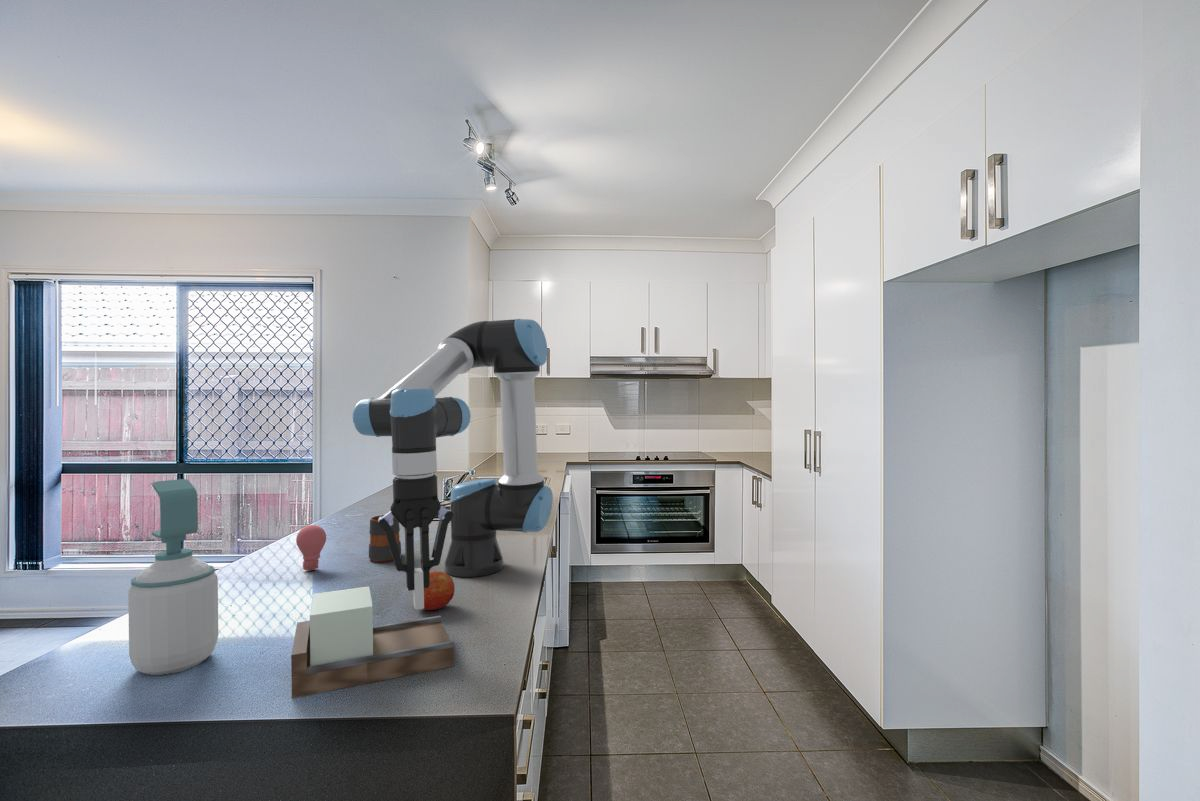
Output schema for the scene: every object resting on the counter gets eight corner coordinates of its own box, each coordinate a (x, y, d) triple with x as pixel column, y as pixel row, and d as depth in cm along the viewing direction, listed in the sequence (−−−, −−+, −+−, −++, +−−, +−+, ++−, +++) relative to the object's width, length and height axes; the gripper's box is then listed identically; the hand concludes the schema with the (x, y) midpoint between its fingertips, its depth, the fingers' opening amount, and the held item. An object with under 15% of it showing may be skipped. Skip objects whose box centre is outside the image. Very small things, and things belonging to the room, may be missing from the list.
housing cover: (369, 632, 102) (369, 586, 102) (373, 657, 92) (372, 606, 92) (313, 642, 98) (312, 593, 98) (310, 669, 88) (309, 615, 88)
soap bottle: (205, 641, 107) (203, 474, 107) (229, 660, 99) (227, 479, 99) (120, 666, 97) (117, 482, 97) (139, 689, 89) (136, 489, 89)
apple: (412, 605, 125) (412, 568, 125) (452, 599, 128) (451, 564, 128) (414, 617, 118) (414, 579, 118) (456, 612, 120) (455, 574, 120)
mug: (407, 551, 170) (407, 511, 170) (396, 562, 158) (395, 520, 158) (378, 552, 170) (377, 512, 170) (364, 563, 158) (363, 521, 158)
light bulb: (332, 569, 153) (331, 524, 153) (306, 576, 147) (305, 529, 147) (316, 565, 156) (316, 521, 156) (290, 572, 150) (290, 526, 150)
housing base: (440, 634, 109) (440, 600, 109) (454, 665, 96) (453, 626, 96) (297, 660, 99) (297, 622, 99) (291, 698, 86) (291, 655, 86)
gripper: (448, 469, 108) (451, 593, 109) (374, 475, 102) (378, 606, 103) (456, 474, 101) (459, 607, 102) (377, 481, 96) (381, 621, 96)
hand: (418, 606), depth 102 cm, fingers closed
